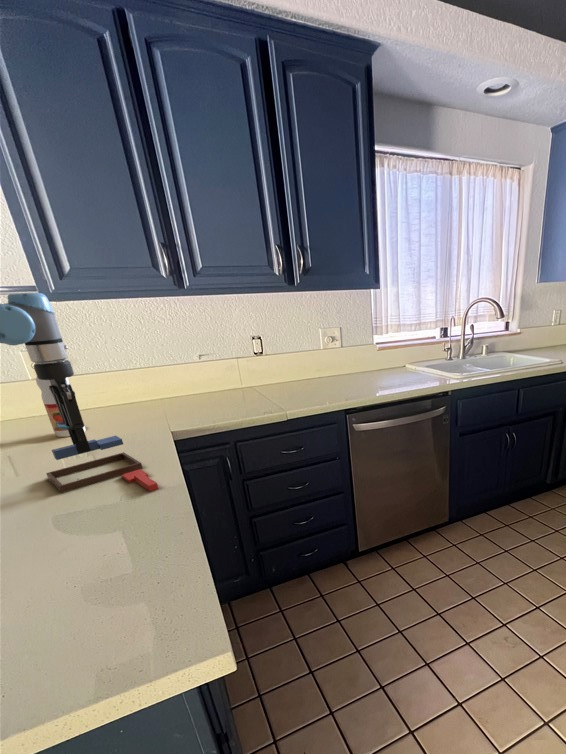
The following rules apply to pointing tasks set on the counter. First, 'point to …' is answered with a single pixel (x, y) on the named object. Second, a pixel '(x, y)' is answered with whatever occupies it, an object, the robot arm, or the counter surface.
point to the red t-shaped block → (141, 479)
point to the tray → (97, 478)
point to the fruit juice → (53, 409)
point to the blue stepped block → (93, 445)
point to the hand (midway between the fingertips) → (83, 450)
